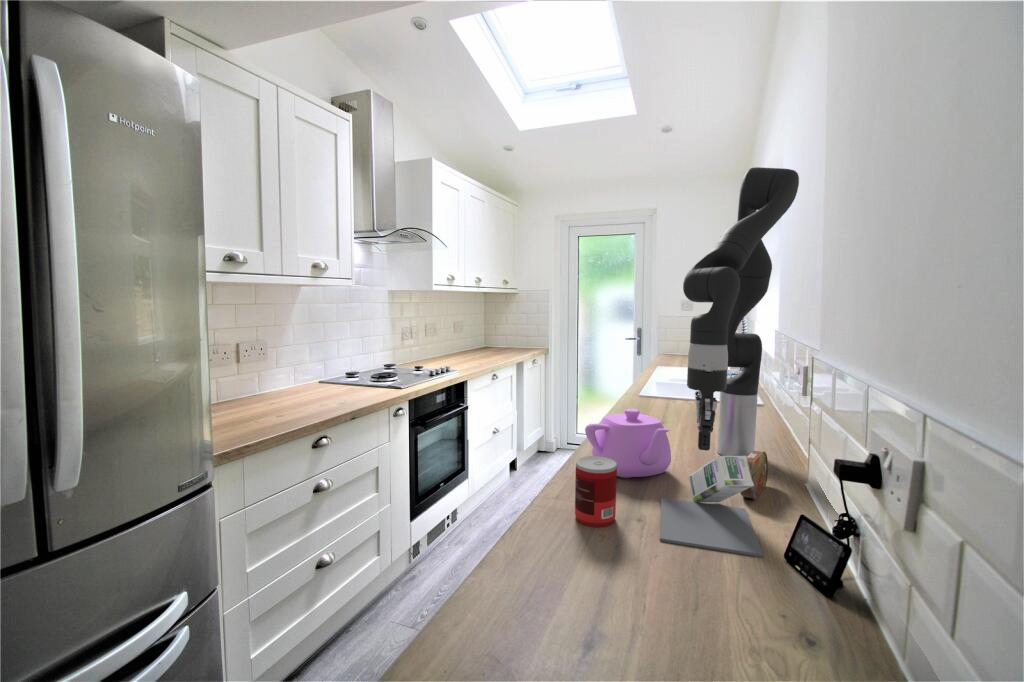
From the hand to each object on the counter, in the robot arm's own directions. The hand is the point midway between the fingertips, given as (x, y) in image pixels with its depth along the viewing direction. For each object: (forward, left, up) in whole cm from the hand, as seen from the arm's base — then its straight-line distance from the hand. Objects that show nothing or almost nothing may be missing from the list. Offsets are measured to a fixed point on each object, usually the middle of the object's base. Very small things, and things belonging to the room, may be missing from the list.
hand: (703, 449), depth 97 cm
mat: (+11, 0, -11) cm, 16 cm away
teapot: (-14, -15, -12) cm, 24 cm away
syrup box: (-1, 0, -9) cm, 9 cm away
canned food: (+15, -20, -12) cm, 27 cm away
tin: (-9, +11, -12) cm, 19 cm away
